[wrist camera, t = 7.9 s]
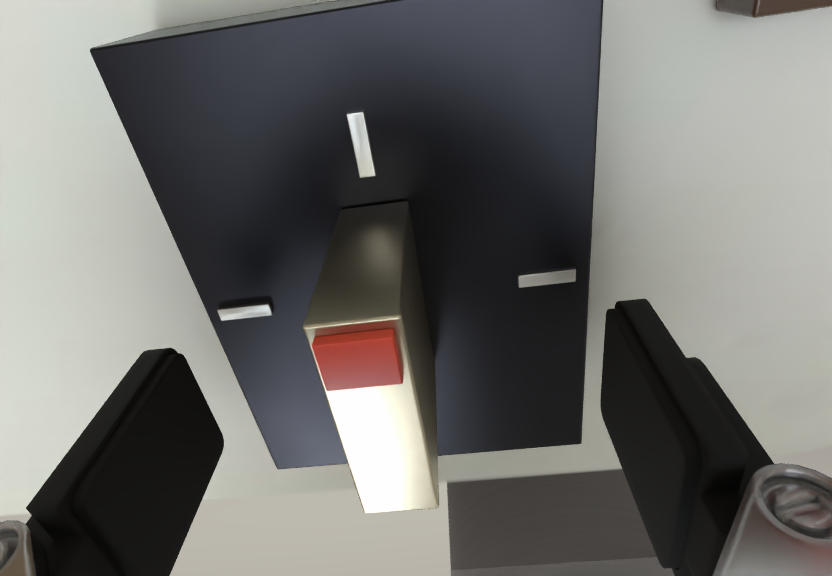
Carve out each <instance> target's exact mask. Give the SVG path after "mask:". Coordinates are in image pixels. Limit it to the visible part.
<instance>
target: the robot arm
mask: <svg viewBox="0 0 832 576" xmlns="http://www.w3.org/2000/svg"><path fill="white" fill-rule="evenodd" d="M601 412H602V417H603V420H604V422H605V425H606V428H607V430H608V433H609V435H610V438H611V440H612V443H613V445H614V448H615V451H616V453H617V456H618V458H619V461H620V463H621V466H622V469H623V471H624V474H625V476H626V479H627V481H628V484H629V486H630V489H631V492H632V494H633V497H634V499H635V502H636V504H637V507H638V510H639V512H640V515H641V517H642V520H643V522H644V525H645V528H646V530H647V533H648V535H649V538H650V540H651V543H652V545H653V548H654V551H655V553H656V556H657V558H658V561H659V563H660V565H661V566H662V567H663V568H664V569H666V568H672V571H673V573H674V576H832V478H830V477H828V476H826V475H824V474H822V473H820V472H818V471H816V470H813V469H810V468H806V467H803V466H799V465H793V464H782V463H780V464H774V463H773V461H772V460H771V459H770V457H769V456H768V454H767V453H766V451H765V450H764V449H763V447H762V446H761V444H760V443H759V441H758V440H757V439H756V437H755V436H754V434H753V433H752V431H751V430H750V429H749V427H748V426H747V424H746V423H745V421H744V420H743V419H742V417H741V416H740V414H739V413H738V411H737V410H736V409H735V407H734V406H733V404H732V403H731V402H730V400H729V399H728V397H727V396H726V394H725V393H724V392H723V390H722V389H721V387H720V386H719V384H718V383H717V382H716V380H715V379H714V377H713V376H712V374H711V373H710V372H709V370H708V369H707V367H706V366H705V365H704V363H703V362H702V361H701V360H700V359H698V358H696V357H694V358H686V357H685V355H684V354H683V352H682V351H681V349H680V348H679V346H678V345H677V343H676V342H675V340H674V339H673V337H672V336H671V334H670V333H669V331H668V330H667V328H666V327H665V325H664V324H663V322H662V321H661V319H660V318H659V316H658V315H657V313H656V312H655V310H654V309H653V307H652V306H651V304H650V303H649V302H648V300H647V299H636V300H627V301H618V302H616V304H615V309H608V310H607V312H606V323H605V339H604V354H603V370H602V386H601ZM223 447H224V439H223V435H222V433H221V431H220V429H219V427H218V424H217V422H216V420H215V418H214V416H213V414H212V412H211V410H210V408H209V406H208V404H207V402H206V400H205V398H204V396H203V393H202V391H201V389H200V387H199V385H198V383H197V381H196V379H195V377H194V375H193V373H192V371H191V369H190V367H189V365H188V363H187V360H186V358H185V357H184V356H183V355H182V354H178V353H177V351H176V350H174V349H172V348H165V349H156V350H147V351H144V352H143V353H142V354H141V355H140V356H139V358H138V359H137V360H136V362H135V363H134V364H133V366H132V367H131V368H130V370H129V371H128V372H127V374H126V375H125V376H124V378H123V379H122V380H121V382H120V383H119V384H118V386H117V387H116V388H115V390H114V391H113V392H112V394H111V395H110V396H109V398H108V399H107V401H106V402H105V403H104V405H103V406H102V407H101V409H100V410H99V411H98V413H97V414H96V415H95V417H94V418H93V419H92V421H91V422H90V423H89V425H88V426H87V427H86V429H85V430H84V431H83V433H82V434H81V435H80V437H79V438H78V439H77V441H76V442H75V443H74V445H73V446H72V447H71V449H70V450H69V451H68V453H67V454H66V455H65V457H64V458H63V459H62V461H61V462H60V463H59V465H58V466H57V467H56V469H55V470H54V471H53V473H52V474H51V475H50V477H49V478H48V479H47V481H46V482H45V483H44V485H43V486H42V487H41V489H40V490H39V491H38V493H37V494H36V495H35V497H34V498H33V499H32V501H31V502H30V503H29V505H28V506H27V507H26V509H27V510H28V511H29V512H30V513H31V515H32V516H31V518H30V519H29V520H28V522H27V523H26V524H24V523H22V522H20V521H4V522H0V576H169V575H170V573H171V571H172V568H173V566H174V563H175V561H176V559H177V557H178V554H179V552H180V550H181V547H182V545H183V542H184V540H185V538H186V536H187V533H188V531H189V528H190V526H191V524H192V521H193V519H194V517H195V514H196V512H197V510H198V507H199V505H200V503H201V501H202V498H203V496H204V494H205V491H206V489H207V487H208V484H209V482H210V480H211V477H212V475H213V473H214V470H215V468H216V466H217V463H218V461H219V458H220V456H221V454H222V451H223Z"/></svg>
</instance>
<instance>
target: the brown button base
mask: <svg viewBox="0 0 832 576" xmlns="http://www.w3.org/2000/svg"><path fill="white" fill-rule="evenodd" d="M829 6H832V0H718V2H717V10H718V11H722V12H728V13H733V14H738V15H743V16H748V17H754V18H756V17H763V16H770V15H776V14H783V13H790V12H796V11H803V10H809V9H816V8H823V7H829Z"/></svg>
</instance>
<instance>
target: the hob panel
mask: <svg viewBox="0 0 832 576" xmlns="http://www.w3.org/2000/svg"><path fill="white" fill-rule="evenodd" d="M602 15H603V0H335V1H329V2H323V3H317V4H310V5H304V6H298V7H292V8H286V9H280V10H274V11H268V12H262V13H256V14H250V15H244V16H237V17H231V18H225V19H219V20H213V21H207V22H201V23H195V24H189V25H183V26H177V27H171V28H165V29H158V30H154V31H150V32H147V33H143V34H140V35H136V36H133V37H129V38H126V39H122V40H118V41H115V42H111V43H108V44H104V45H101V46H97V47H94V48H91V49H90V52H91V55H92V57H93V59H94V61H95V63H96V66H97V68H98V70H99V72H100V75H101V77H102V79H103V81H104V84H105V86H106V88H107V90H108V92H109V95H110V97H111V99H112V101H113V104H114V106H115V108H116V110H117V113H118V115H119V117H120V119H121V121H122V124H123V126H124V128H125V130H126V133H127V135H128V137H129V139H130V142H131V144H132V146H133V148H134V150H135V153H136V155H137V157H138V159H139V162H140V164H141V166H142V168H143V171H144V173H145V175H146V177H147V179H148V182H149V184H150V186H151V188H152V191H153V193H154V195H155V197H156V200H157V202H158V204H159V206H160V208H161V211H162V213H163V215H164V217H165V220H166V222H167V224H168V226H169V229H170V231H171V233H172V235H173V237H174V240H175V242H176V244H177V246H178V249H179V251H180V253H181V255H182V258H183V260H184V262H185V264H186V266H187V269H188V271H189V273H190V275H191V278H192V280H193V282H194V284H195V287H196V289H197V291H198V293H199V295H200V298H201V300H202V302H203V304H204V307H205V309H206V311H207V313H208V316H209V318H210V320H211V322H212V324H213V327H214V329H215V331H216V333H217V336H218V338H219V340H220V342H221V345H222V347H223V349H224V351H225V353H226V356H227V358H228V360H229V362H230V365H231V367H232V369H233V371H234V374H235V376H236V378H237V380H238V382H239V385H240V387H241V389H242V391H243V394H244V396H245V398H246V400H247V403H248V405H249V407H250V409H251V411H252V414H253V416H254V418H255V420H256V423H257V425H258V427H259V429H260V432H261V434H262V436H263V438H264V440H265V443H266V445H267V447H268V449H269V452H270V454H271V456H272V458H273V461H274V463H275V465H276V467H277V469H288V468H299V467H311V466H323V465H335V464H347V463H348V462H347V459H346V456H345V453H344V450H343V447H342V444H341V441H340V438H339V435H338V432H337V429H336V426H335V423H334V420H333V417H332V414H331V411H330V408H329V405H328V402H327V399H326V396H325V393H324V390H323V387H322V384H321V381H320V378H319V375H318V372H317V369H316V366H315V363H314V360H313V357H312V354H311V351H310V348H309V345H308V342H307V339H306V336H305V333H304V330H303V325H304V322H305V319H306V316H307V313H308V309H309V306H310V303H311V300H312V297H313V294H314V291H315V288H316V285H317V282H318V278H319V275H320V272H321V269H322V266H323V263H324V260H325V257H326V254H327V251H328V247H329V244H330V241H331V238H332V235H333V232H334V229H335V226H336V223H337V220H338V216H339V213H340V210H342V209H349V208H357V207H364V206H372V205H380V204H387V203H395V202H403V201H408V203H409V208H410V215H411V221H412V227H413V233H414V239H415V245H416V251H417V257H418V263H419V269H420V275H421V282H422V288H423V294H424V300H425V306H426V312H427V318H428V324H429V330H430V336H431V342H432V349H433V355H434V361H435V381H436V415H437V450H438V456H442V455H454V454H466V453H478V452H490V451H502V450H514V449H525V448H537V447H549V446H561V445H573V444H581V441H582V421H583V401H584V380H585V360H586V340H587V319H588V299H589V279H590V258H591V238H592V218H593V197H594V177H595V157H596V136H597V116H598V96H599V76H600V55H601V35H602Z"/></svg>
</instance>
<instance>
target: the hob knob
mask: <svg viewBox="0 0 832 576" xmlns="http://www.w3.org/2000/svg"><path fill="white" fill-rule="evenodd" d="M303 330H304V333H305V336H306V339H307V342H308V345H309V348H310V351H311V354H312V357H313V360H314V363H315V366H316V369H317V372H318V375H319V378H320V381H321V384H322V387H323V390H324V393H325V396H326V399H327V402H328V405H329V408H330V411H331V414H332V417H333V420H334V423H335V426H336V429H337V432H338V435H339V438H340V441H341V444H342V447H343V450H344V453H345V456H346V459H347V462H348V465H349V468H350V471H351V474H352V477H353V480H354V483H355V486H356V489H357V492H358V495H359V498H360V501H361V504H362V507H363V510H364V513H379V512H392V511H406V510H419V509H431V508H438V507H439V489H438V487H439V485H438V450H437V415H436V381H435V361H434V355H433V349H432V342H431V336H430V330H429V324H428V318H427V312H426V306H425V300H424V294H423V288H422V282H421V275H420V269H419V263H418V257H417V251H416V245H415V239H414V233H413V227H412V221H411V215H410V208H409V203H408V201H403V202H395V203H387V204H380V205H372V206H364V207H357V208H349V209H342V210H340V213H339V216H338V220H337V223H336V226H335V229H334V232H333V235H332V238H331V241H330V244H329V247H328V251H327V254H326V257H325V260H324V263H323V266H322V269H321V272H320V275H319V278H318V282H317V285H316V288H315V291H314V294H313V297H312V300H311V303H310V306H309V309H308V313H307V316H306V319H305V322H304V325H303Z"/></svg>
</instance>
